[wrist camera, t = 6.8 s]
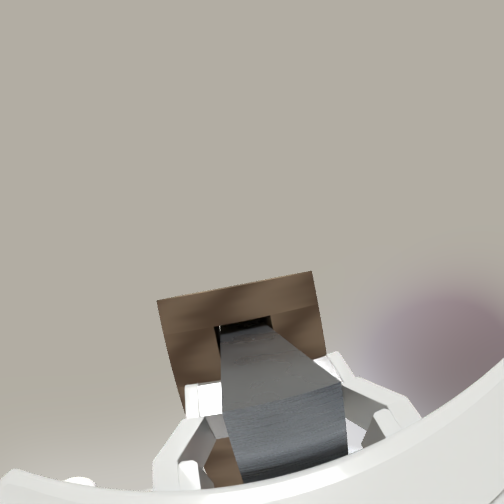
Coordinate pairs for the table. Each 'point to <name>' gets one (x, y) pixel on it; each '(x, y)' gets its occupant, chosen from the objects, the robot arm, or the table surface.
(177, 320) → the block
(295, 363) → the shaft
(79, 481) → the sprinkles bottle
